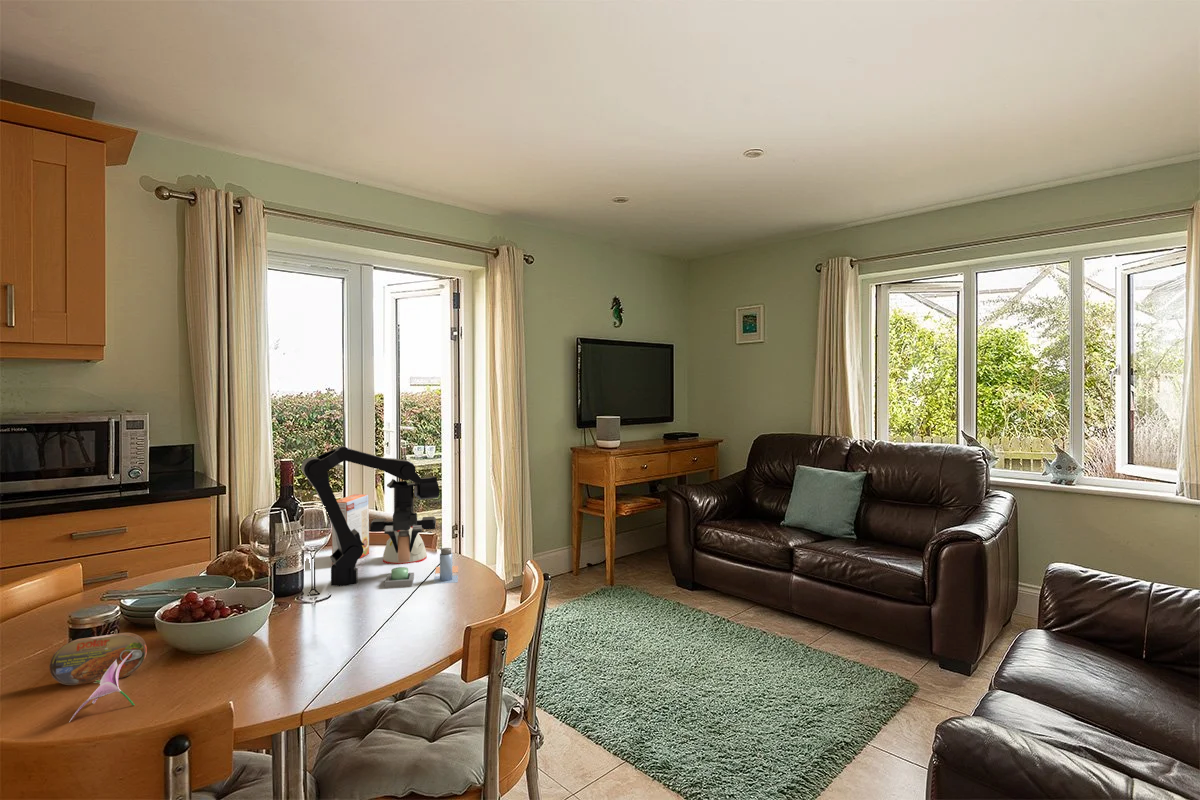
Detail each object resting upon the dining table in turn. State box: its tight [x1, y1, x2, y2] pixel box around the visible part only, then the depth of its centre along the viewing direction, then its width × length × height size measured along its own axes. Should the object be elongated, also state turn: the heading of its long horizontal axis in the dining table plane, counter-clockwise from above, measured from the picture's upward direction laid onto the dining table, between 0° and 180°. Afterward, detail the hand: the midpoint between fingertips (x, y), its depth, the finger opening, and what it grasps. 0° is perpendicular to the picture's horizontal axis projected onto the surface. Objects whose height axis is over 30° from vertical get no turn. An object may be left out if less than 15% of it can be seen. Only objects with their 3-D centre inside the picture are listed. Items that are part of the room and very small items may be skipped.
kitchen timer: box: [382, 527, 428, 565], centre depth 203 cm, size 14×14×15 cm
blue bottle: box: [439, 547, 453, 581], centre depth 181 cm, size 4×4×9 cm
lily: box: [68, 650, 135, 723], centre depth 110 cm, size 12×12×10 cm
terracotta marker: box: [398, 530, 410, 562], centre depth 187 cm, size 4×4×9 cm
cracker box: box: [331, 493, 370, 565], centre depth 205 cm, size 14×6×21 cm, turn 172°
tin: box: [49, 632, 148, 686], centre depth 121 cm, size 15×3×8 cm, turn 114°
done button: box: [390, 566, 409, 580], centre depth 177 cm, size 5×5×3 cm
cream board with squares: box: [384, 565, 459, 589], centre depth 184 cm, size 22×19×3 cm
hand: (403, 552), depth 187 cm, fingers closed on terracotta marker, 4 cm apart
